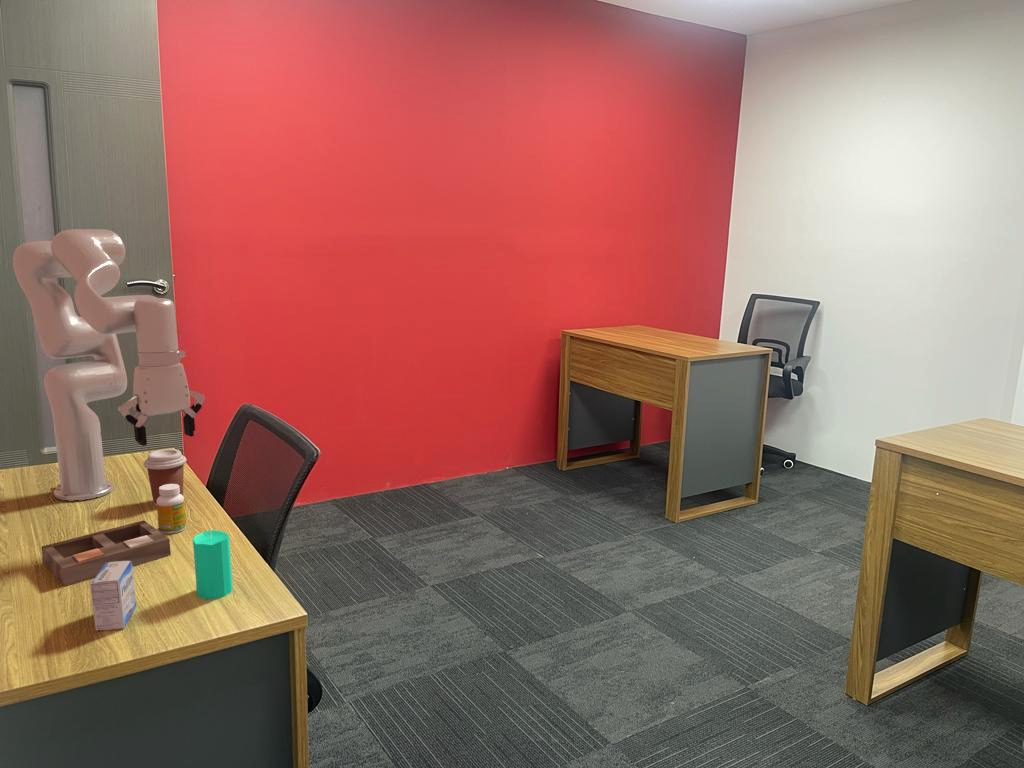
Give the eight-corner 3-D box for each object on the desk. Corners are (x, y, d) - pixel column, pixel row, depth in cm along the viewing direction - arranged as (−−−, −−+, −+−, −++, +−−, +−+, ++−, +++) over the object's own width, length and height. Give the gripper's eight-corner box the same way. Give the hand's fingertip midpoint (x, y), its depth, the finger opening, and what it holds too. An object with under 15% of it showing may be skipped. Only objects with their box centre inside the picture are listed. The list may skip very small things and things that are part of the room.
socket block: (43, 563, 148) (41, 544, 147) (145, 536, 161) (143, 518, 160) (64, 586, 139) (62, 566, 138) (170, 555, 152) (169, 537, 151)
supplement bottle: (176, 535, 161) (172, 492, 159) (153, 533, 162) (149, 489, 160) (191, 526, 167) (188, 483, 164) (169, 523, 168) (165, 481, 166)
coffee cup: (178, 492, 187) (174, 445, 184) (196, 501, 181) (192, 453, 178) (140, 502, 180) (135, 453, 177) (157, 512, 174) (153, 461, 171)
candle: (196, 586, 139) (191, 525, 137) (231, 581, 142) (227, 520, 139) (197, 601, 134) (192, 537, 131) (233, 595, 136) (229, 532, 134)
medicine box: (124, 629, 125) (119, 580, 123) (94, 632, 124) (89, 582, 122) (137, 606, 132) (132, 559, 130) (109, 608, 131) (104, 561, 129)
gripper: (193, 352, 165) (199, 429, 169) (107, 361, 153) (115, 444, 157) (208, 356, 160) (214, 435, 164) (121, 366, 148) (129, 451, 151)
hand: (166, 439), depth 160 cm, fingers open, 9 cm apart
